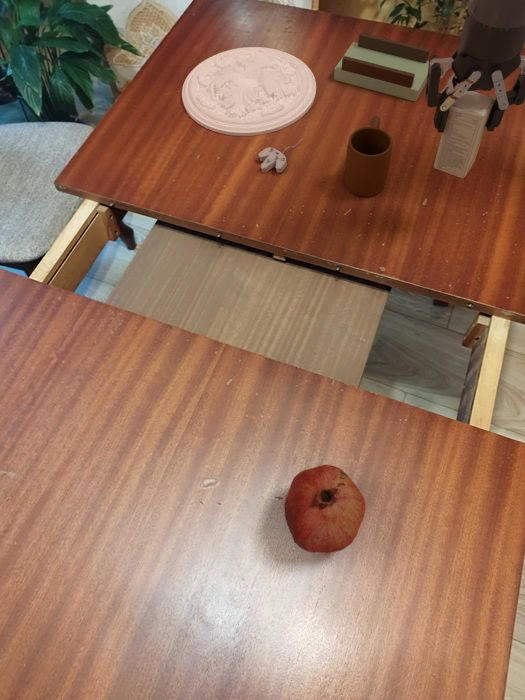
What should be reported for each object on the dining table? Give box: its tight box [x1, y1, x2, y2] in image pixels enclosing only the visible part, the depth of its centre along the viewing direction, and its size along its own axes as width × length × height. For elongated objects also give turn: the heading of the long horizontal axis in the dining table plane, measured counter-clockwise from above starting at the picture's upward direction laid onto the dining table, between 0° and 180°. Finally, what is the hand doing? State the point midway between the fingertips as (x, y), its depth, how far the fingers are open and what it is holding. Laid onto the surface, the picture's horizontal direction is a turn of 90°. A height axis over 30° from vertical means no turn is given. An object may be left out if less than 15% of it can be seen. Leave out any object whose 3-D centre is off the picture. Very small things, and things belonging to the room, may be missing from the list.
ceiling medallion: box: [181, 46, 317, 137], centre depth 112 cm, size 28×28×3 cm
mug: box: [343, 115, 394, 198], centre depth 96 cm, size 12×8×9 cm, turn 166°
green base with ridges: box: [333, 32, 431, 103], centre depth 112 cm, size 18×10×5 cm, turn 63°
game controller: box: [258, 137, 307, 174], centre depth 103 cm, size 6×12×3 cm, turn 153°
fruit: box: [283, 464, 366, 554], centre depth 66 cm, size 11×10×10 cm
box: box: [433, 91, 496, 179], centre depth 79 cm, size 5×4×11 cm
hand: (464, 128), depth 78 cm, fingers closed on box, 6 cm apart
